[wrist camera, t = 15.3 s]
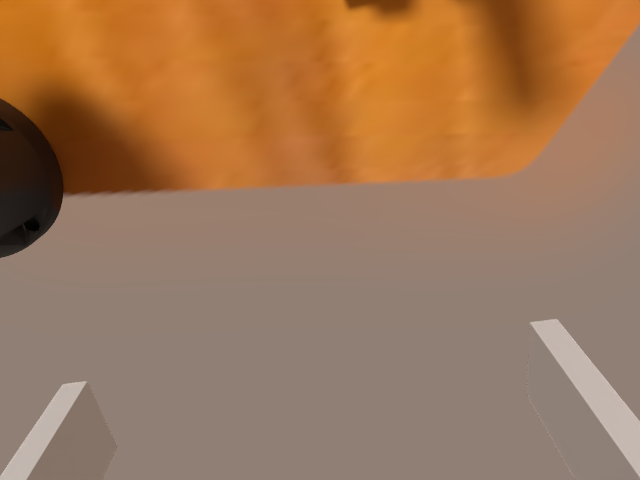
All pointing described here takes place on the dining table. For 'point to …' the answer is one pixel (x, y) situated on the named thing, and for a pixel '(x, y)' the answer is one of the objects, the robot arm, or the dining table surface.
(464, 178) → the dining table surface
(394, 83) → the dining table surface
